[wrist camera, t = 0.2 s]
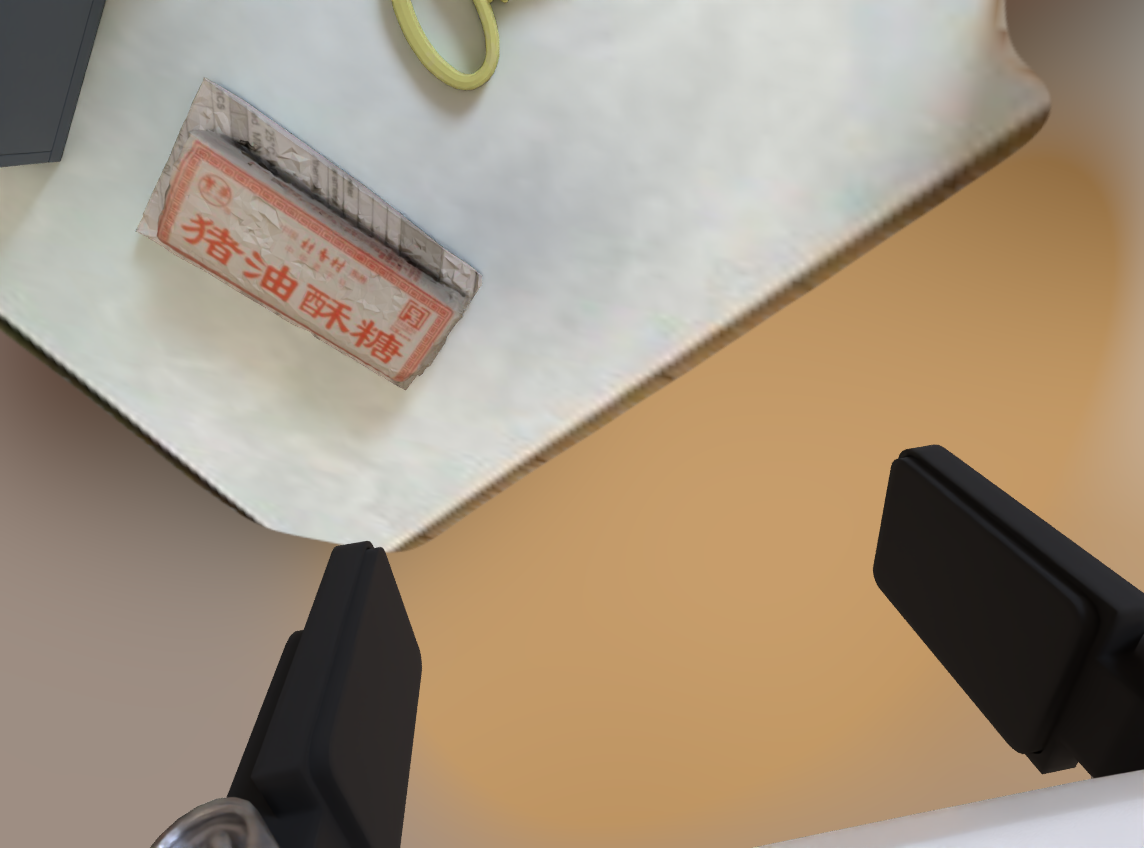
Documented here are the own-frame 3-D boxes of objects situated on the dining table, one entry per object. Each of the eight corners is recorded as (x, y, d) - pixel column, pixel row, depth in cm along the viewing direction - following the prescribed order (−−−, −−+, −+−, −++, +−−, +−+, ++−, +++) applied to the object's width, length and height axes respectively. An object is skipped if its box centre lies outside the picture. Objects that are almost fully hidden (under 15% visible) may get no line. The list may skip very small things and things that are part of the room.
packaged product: (488, 292, 34) (399, 415, 37) (488, 273, 39) (408, 385, 42) (172, 69, 28) (95, 242, 31) (215, 75, 32) (143, 226, 35)
